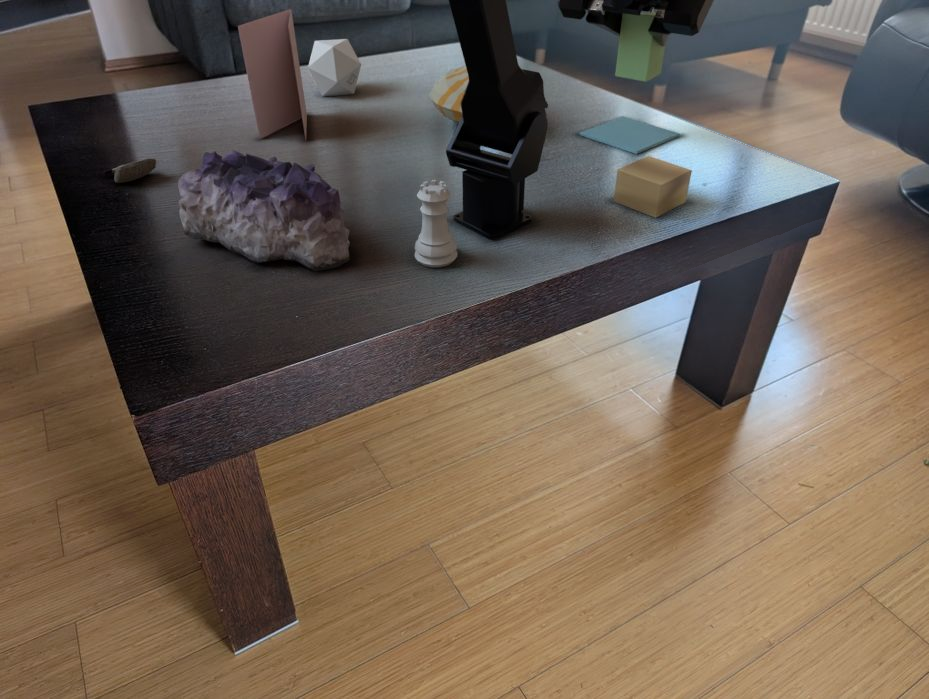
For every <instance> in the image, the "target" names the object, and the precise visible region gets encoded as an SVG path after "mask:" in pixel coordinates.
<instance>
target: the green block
mask: <svg viewBox="0 0 929 699" xmlns="http://www.w3.org/2000/svg"><path fill="white" fill-rule="evenodd" d="M655 14H656V13H655V12H654V7H653V10H652V12H651V13H642V12H641V13H640V15H639V16H638V15H631V14H624V13H623V14H622V22H621V31H620V37H619V41H618V47H617V56H616V64H615V72H614V76H615V77H618V78H624V79H628V80H633V81H638V82H643V83H644V82H645V83H647V82H649V81H650V80H653V79H654V78H656V77H658V76H660V75H662V69H663V62H664V58H665V51H666V44H667V43H666V44H665V46H661V45H659V44H658V43H657V42H656V40H655V39H654V38H653V37H652V36H651V34H650V33H649V32H648V29H649V27H650V25H651V23H652V21H653V19H654V17H655Z"/></svg>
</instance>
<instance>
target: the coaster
mask: <svg viewBox="0 0 929 699" xmlns="http://www.w3.org/2000/svg"><path fill="white" fill-rule="evenodd" d="M579 136H581V137H584V138H587V139H590V140H593V141H596V142H598V143H602V144H605V145H608V146H611V147H614V148H616V149H620V150H623V151H625V152H629V153H632V154H635V155H638V154H641V153H643V152H645V151H648V150H649V149H651V148H655V147H656V146H660V145H661V144H664V143H666V142H668V141H671V140H673V139H676V138H677V137H680V132H676V131H673V130H670V129H666V128H663V127H660V126H656V125H653V124H650V123H646V122H643V121H641V120H637V119H633V118H630V117H627V116H619V117H618V118H615V119H612V120H610V121H606V122H605V123H601V124H599V125H596V126H593V127H591V128H587V129H585V130H582V131H580V132H579Z"/></svg>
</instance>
